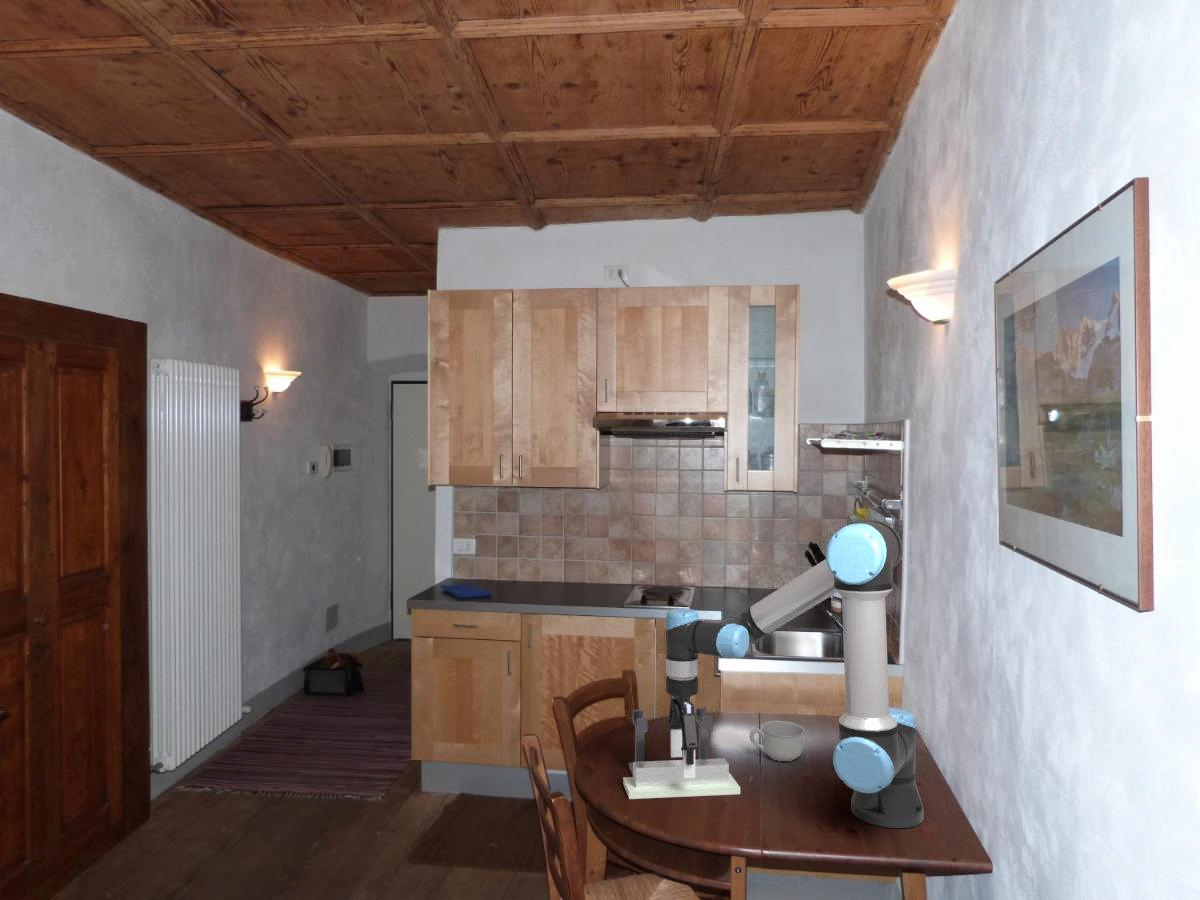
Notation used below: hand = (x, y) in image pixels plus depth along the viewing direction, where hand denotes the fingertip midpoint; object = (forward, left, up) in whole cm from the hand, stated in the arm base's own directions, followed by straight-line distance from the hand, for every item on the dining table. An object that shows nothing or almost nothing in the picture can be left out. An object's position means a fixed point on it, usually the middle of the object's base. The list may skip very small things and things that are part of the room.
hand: (682, 767), depth 207 cm
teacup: (+18, -29, -5) cm, 34 cm away
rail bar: (0, 0, -4) cm, 4 cm away
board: (0, 0, -5) cm, 5 cm away
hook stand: (+11, 0, -5) cm, 12 cm away
